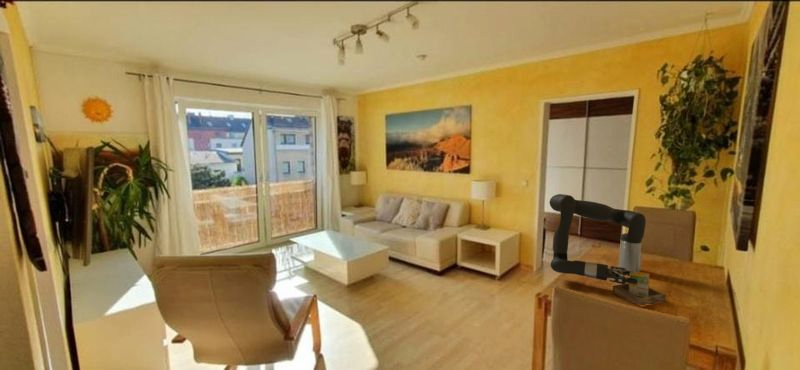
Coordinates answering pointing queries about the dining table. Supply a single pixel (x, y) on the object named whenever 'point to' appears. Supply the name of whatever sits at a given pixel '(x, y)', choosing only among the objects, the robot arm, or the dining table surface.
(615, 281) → the robot arm
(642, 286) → the crayon box
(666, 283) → the dining table surface
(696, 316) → the dining table surface
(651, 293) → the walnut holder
